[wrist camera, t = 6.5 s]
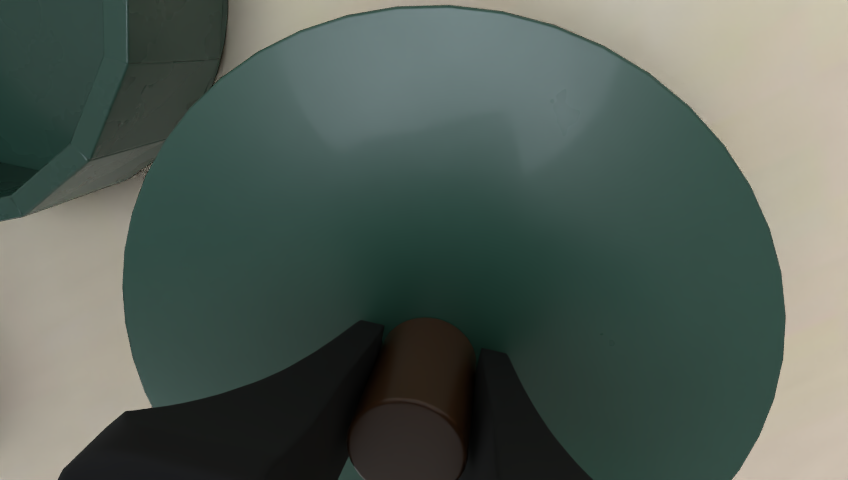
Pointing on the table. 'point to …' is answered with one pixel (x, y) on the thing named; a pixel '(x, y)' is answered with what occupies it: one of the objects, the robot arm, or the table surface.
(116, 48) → the pot
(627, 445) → the lid
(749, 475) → the table surface
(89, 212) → the table surface
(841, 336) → the table surface
